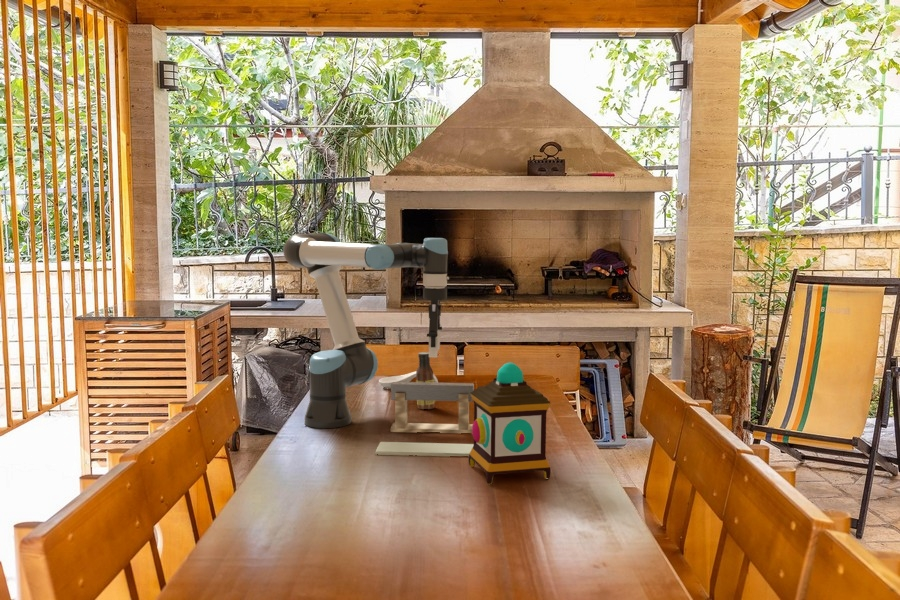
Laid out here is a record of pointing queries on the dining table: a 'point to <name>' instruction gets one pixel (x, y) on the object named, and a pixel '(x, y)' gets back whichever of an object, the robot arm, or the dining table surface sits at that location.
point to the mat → (423, 449)
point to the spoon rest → (400, 379)
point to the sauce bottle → (424, 378)
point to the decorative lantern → (509, 426)
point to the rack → (403, 426)
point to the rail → (432, 390)
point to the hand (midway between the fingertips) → (434, 353)
